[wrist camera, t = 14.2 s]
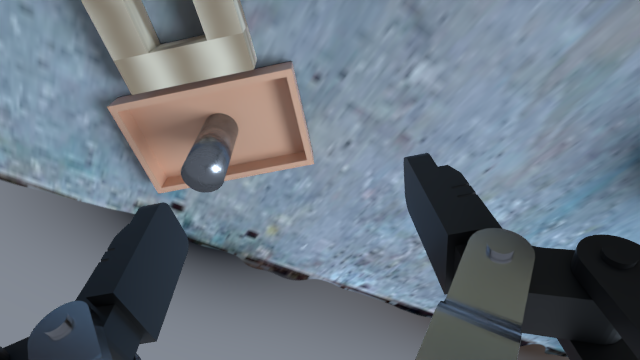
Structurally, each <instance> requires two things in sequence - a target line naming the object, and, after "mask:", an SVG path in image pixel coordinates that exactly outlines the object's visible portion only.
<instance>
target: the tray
mask: <svg viewBox="0 0 640 360" xmlns="http://www.w3.org/2000/svg"><path fill="white" fill-rule="evenodd" d="M107 108H108V109H109V111H110V113H111V115H112V116H113V118H114V120H115V121H116V123H117V125H118V126H119V128H120V130H121V131H122V133H123V135H124V136H125V138H126V140H127V141H128V143H129V145H130V146H131V148H132V150H133V152H134V153H135V155H136V157H137V158H138V160H139V162H140V163H141V165H142V167H143V168H144V170H145V172H146V173H147V175H148V177H149V178H150V180H151V182H152V183H153V185H154V187H155V189H156V190H157V192H158V194H159V193H164V192H170V191H175V190H180V189H185V188H190V187H189V186H188V185H187V184H186V183H185V182H184V181H183V179H182V177H181V168H182V166H183V164H184V162H185V160H186V158H187V156H188V154H189V152H190V150H191V148H192V146H193V144H194V142H195V140H196V138H197V136H198V134H199V132H200V130H201V128H202V126H203V124H204V122H205V120H206V119H207V118H208V117H209V116H210V115H212V114H215V113H223V114H226V115H228V116H230V117H231V118H233V119H234V120H235V122H236V123H237V125H238V135H237V139H236V142H235V145H234V149H233V152H232V156H231V159H230V162H229V166H228V169H227V173H226V176H225V179H224V181H227V180H232V179H238V178H243V177H248V176H253V175H258V174H264V173H269V172H274V171H279V170H285V169H290V168H295V167H300V166H305V165H311V164H314V159H313V151H312V146H311V142H310V138H309V133H308V129H307V125H306V120H305V116H304V112H303V107H302V103H301V99H300V94H299V90H298V85H297V81H296V77H295V72H294V68H293V64H292V61H290V62H285V63H281V64H276V65H271V66H266V67H261V68H257V69H254V70H250V71H245V72H240V73H235V74H230V75H226V76H221V77H216V78H211V79H207V80H202V81H197V82H192V83H187V84H183V85H178V86H173V87H168V88H164V89H159V90H154V91H149V92H144V93H140V94H135V95H128V96H123V97H118V98H117V99H116V100H115V101H113V102H112V103H111V104H110V105H109V106H108V107H107Z"/></svg>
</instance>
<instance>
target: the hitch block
mask: <svg viewBox="0 0 640 360" xmlns="http://www.w3.org/2000/svg"><path fill="white" fill-rule="evenodd" d="M81 1H82V3H83V5H84V7H85V9H86V10H87V12H88V14H89V16H90V18H91V20H92V22H93V23H94V25H95V27H96V29H97V31H98V33H99V35H100V37H101V38H102V40H103V42H104V44H105V46H106V48H107V50H108V51H109V53H110V55H111V57H112V59H113V61H114V63H115V64H116V66H117V68H118V70H119V72H120V74H121V76H122V78H123V79H124V81H125V83H126V85H127V87H128V89H129V91H130V92H131V94H132V95H135V94H140V93H144V92H149V91H154V90H159V89H164V88H168V87H173V86H178V85H183V84H187V83H192V82H197V81H202V80H207V79H211V78H216V77H221V76H226V75H230V74H235V73H240V72H245V71H250V70H254V68H255V65H256V62H257V57H256V54H255V50H254V47H253V43H252V40H251V36H250V33H249V29H248V26H247V23H246V19H245V16H244V12H243V9H242V5H241V2H240V0H193V3H194V6H195V8H196V11H197V14H198V17H199V19H200V22H201V25H202V28H203V30H204V33H205V35H201V36H197V37H192V38H187V39H183V40H178V41H174V42H169V43H164V44H160V42H159V39H158V37H157V35H156V32H155V30H154V28H153V26H152V23H151V21H150V19H149V17H148V14H147V12H146V10H145V8H144V5H143V3H142V1H141V0H81Z"/></svg>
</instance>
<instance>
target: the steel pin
mask: <svg viewBox="0 0 640 360" xmlns="http://www.w3.org/2000/svg"><path fill="white" fill-rule="evenodd" d="M237 135H238V125H237V123H236V122H235V120H234V119H233V118H231V117H230V116H228V115H226V114H223V113H215V114H212V115H210V116H209V117H208V118H207V119H206V120H205V122H204V124H203V126H202V128H201V130H200V132H199V134H198V136H197V138H196V140H195V142H194V144H193V146H192V148H191V150H190V152H189V154H188V156H187V158H186V160H185V162H184V164H183V166H182V168H181V177H182V179H183V181H184V182H185V183H186V184H187V185H188V186H189V187H190V188H192V189H194V190H196V191H199V192H212V191H215V190H217V189H219V188H220V187H221V186H222V184H223V183H224V179H225V176H226V173H227V169H228V166H229V162H230V159H231V156H232V152H233V149H234V145H235V142H236V139H237Z"/></svg>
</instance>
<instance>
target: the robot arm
mask: <svg viewBox="0 0 640 360" xmlns="http://www.w3.org/2000/svg"><path fill="white" fill-rule="evenodd" d="M404 182H405V198H406V204H407V208H408V211H409V214H410V216H411V218H412V221H413V223H414V225H415V227H416V230H417V232H418V234H419V237H420V239H421V241H422V244H423V246H424V248H425V251H426V253H427V255H428V257H429V260H430V262H431V264H432V267H433V269H434V271H435V274H436V276H437V278H438V280H439V283H440V285H441V287H442V290H443V292H444V294H447V297H446V299H445V301H444V302H443V301H440V302H439V304H438V306H437V308H436V310H435V312H434V314H433V317H432V319H431V322H430V324H429V327H428V329H427V332H426V334H425V337H424V339H423V342H422V344H421V347H420V349H419V351H418V354H417V356H416V359H415V360H517V357H518V352H519V347H520V342H521V335H522V333H527V334H534V335H541V336H547V337H554V338H557V339H558V341H559V342H560V344H561V346H562V347H563V349H564V351H565V352H566V354H567V356H568V357H569V359H570V360H640V245H639V244H637V243H635V242H632V241H630V240H627V239H624V238H621V237H617V236H611V235H593V236H588V237H586V238H584V239H582V240H581V241H580V242H579V243H578V245H577V248H576V250H565V249H552V248H541V247H535V246H531V244H530V243H529V242H528V241H527V240H526V239H525V238H523V237H522V236H520V235H519V234H517V233H515V232H512V231H509V230H506V229H502V227H501V226H500V225H499V223H498V222H497V221H496V219H495V218H494V217H493V215H492V214H491V213H490V211H489V210H488V209H487V207H486V206H485V205H484V203H483V202H482V200H481V199H480V198H479V196H478V195H476V193H475V191H474V190H473V188H472V187H471V186H469V183H468V182H467V180H466V179H465V178H464V176H463V175H462V174H461V173H460V172H459V171H457V170H455V169H454V168H452V167H450V166H448V165H445V166H440V167H438V166H437V165H436V163H435V162H434V160H433V159H432V157H431V156H430V154H429V153H425V154H419V155H414V156H409V157H405V158H404ZM187 253H188V239H187V236H186V234H185V232H184V230H183V228H182V227H181V225H180V223H179V222H178V220H177V218H176V216H175V215H174V213H173V211H172V210H171V208H170V206H169V205H168V204H167V203H158V204H153V205H147V206H142V207H140V208H139V209H138V211H137V212H136V214H135V216H134V217H133V219H132V221H131V223H130V224H128V225H127V226H126V227H125V228H124V229H122V230H121V231H120V233H119V234H117V235H116V236H115V238H114V239H113V241H112V242H111V244H110V246H109V247H108V251H107V252H105V254H104V255H103V257H102V259H101V262H99V263H98V265H97V267H96V268H95V270H94V272H93V273H92V275H91V276H90V278H89V280H88V281H87V283H86V284H85V286H84V288H83V289H82V291H81V293H80V294H79V296H78V297H77V299H76V300H75V301H72V302H69V303H66V304H64V305H62V306H60V307H58V308H56V309H55V310H53V311H52V312H50V313H49V314H48V315H46V316H45V317H44V318H43V319H42V320H41V321H40V322H39V323H38V324H37V325H36V327H35V328H34V329H33V331H32V332H31V334H30V336H29V337H27V338H25V339H23V340H21V341H18V342H16V343H14V344H11V345H9V346H7V347H5V348H2V347H0V360H141V358H140V357H139V355H138V354H137V353H136V351H137V349H138V346H139V344H143V343H149V342H155V341H157V339H158V336H159V333H160V330H161V327H162V324H163V321H164V319H165V316H166V313H167V310H168V307H169V304H170V301H171V299H172V296H173V293H174V290H175V287H176V284H177V281H178V278H179V275H180V273H181V270H182V267H183V264H184V261H185V259H186V256H187Z"/></svg>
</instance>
